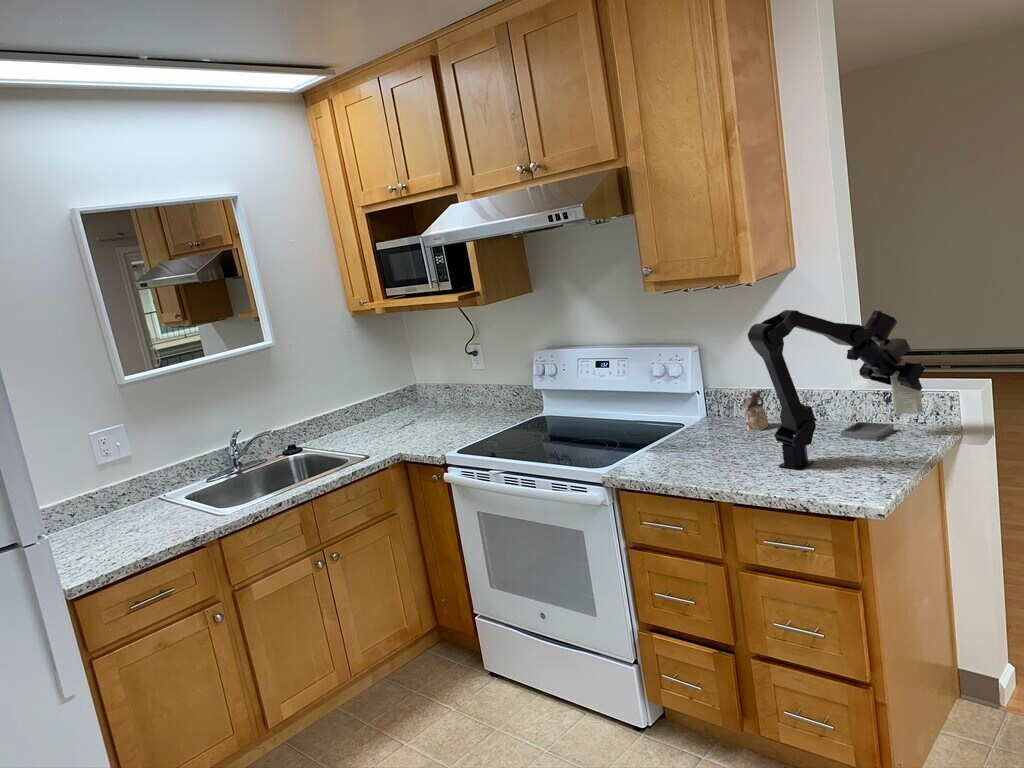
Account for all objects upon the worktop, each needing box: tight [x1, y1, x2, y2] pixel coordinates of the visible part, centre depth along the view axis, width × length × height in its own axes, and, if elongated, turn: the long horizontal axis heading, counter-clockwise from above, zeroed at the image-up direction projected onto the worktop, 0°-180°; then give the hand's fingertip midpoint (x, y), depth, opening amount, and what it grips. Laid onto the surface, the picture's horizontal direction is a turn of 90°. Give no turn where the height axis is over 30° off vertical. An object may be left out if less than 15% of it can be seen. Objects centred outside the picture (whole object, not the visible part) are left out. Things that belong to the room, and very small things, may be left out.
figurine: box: [743, 389, 769, 432], centre depth 241 cm, size 7×7×12 cm
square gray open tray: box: [840, 421, 895, 441], centre depth 217 cm, size 10×10×2 cm
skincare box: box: [890, 374, 923, 415], centre depth 208 cm, size 6×4×12 cm
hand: (910, 387), depth 208 cm, fingers closed on skincare box, 7 cm apart
